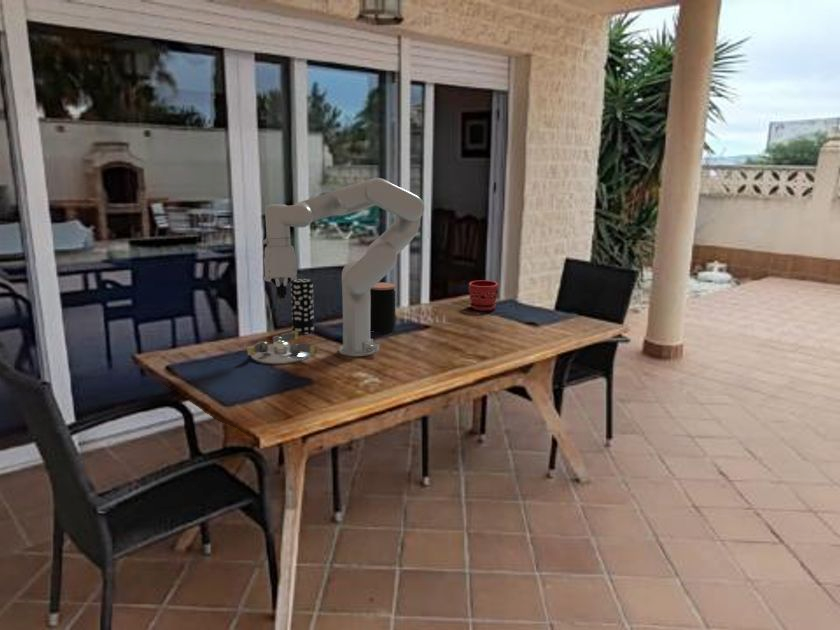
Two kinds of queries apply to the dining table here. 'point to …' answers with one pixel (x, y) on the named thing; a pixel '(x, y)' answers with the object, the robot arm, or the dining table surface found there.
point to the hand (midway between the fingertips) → (281, 297)
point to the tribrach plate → (279, 354)
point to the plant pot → (483, 294)
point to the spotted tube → (302, 305)
